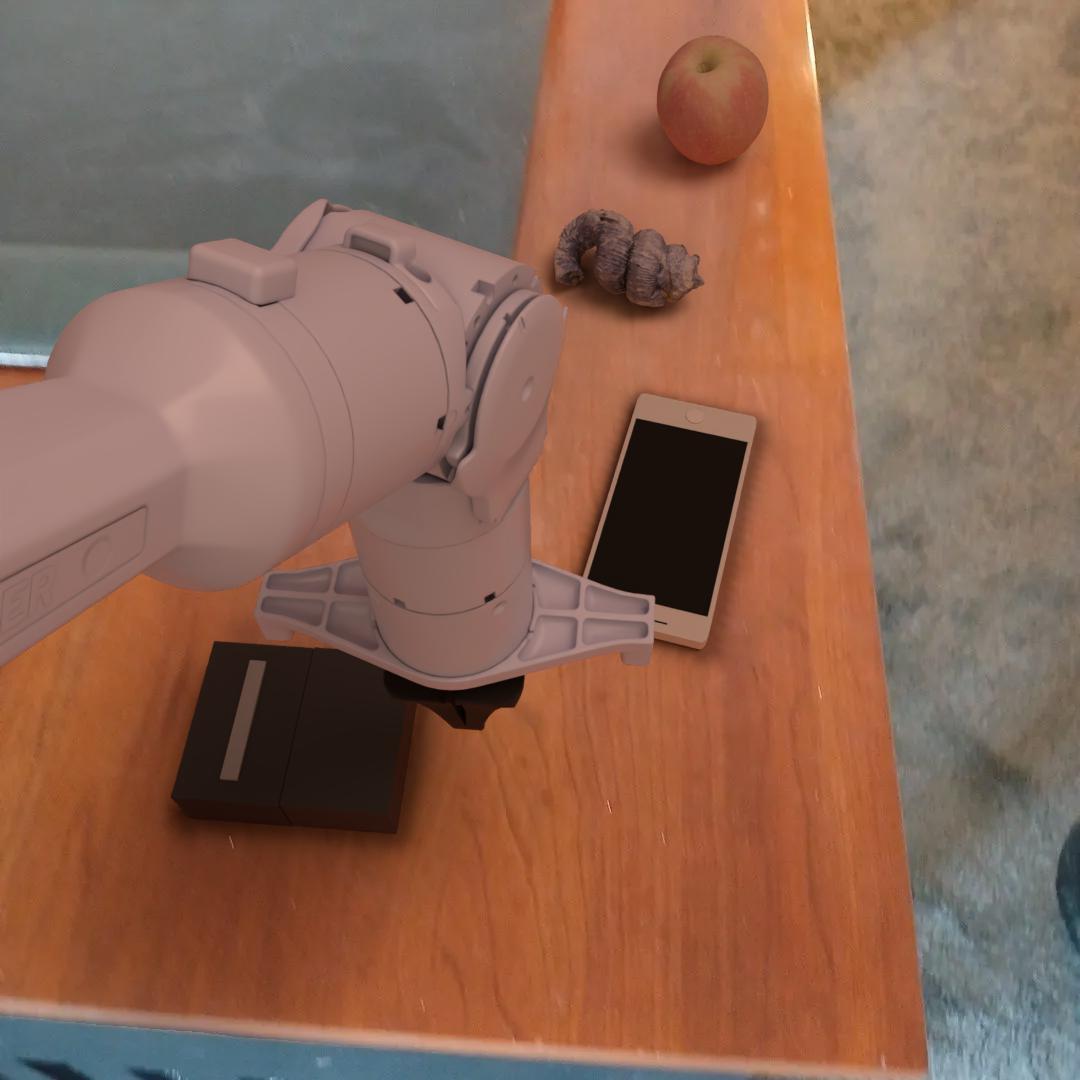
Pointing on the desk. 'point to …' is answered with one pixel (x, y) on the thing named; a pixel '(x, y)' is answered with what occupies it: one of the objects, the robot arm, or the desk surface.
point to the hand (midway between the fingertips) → (470, 708)
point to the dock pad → (242, 733)
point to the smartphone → (673, 512)
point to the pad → (347, 748)
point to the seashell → (626, 259)
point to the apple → (712, 99)
